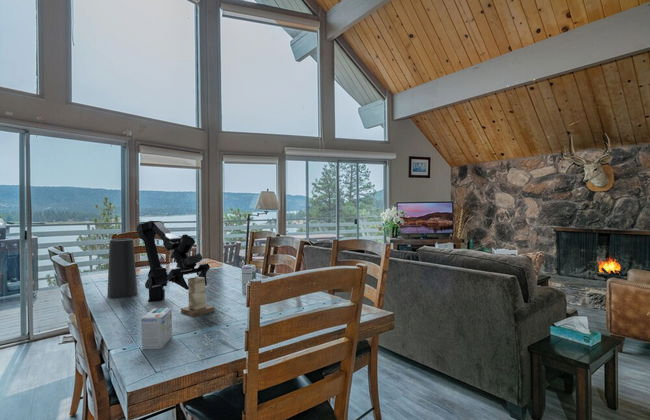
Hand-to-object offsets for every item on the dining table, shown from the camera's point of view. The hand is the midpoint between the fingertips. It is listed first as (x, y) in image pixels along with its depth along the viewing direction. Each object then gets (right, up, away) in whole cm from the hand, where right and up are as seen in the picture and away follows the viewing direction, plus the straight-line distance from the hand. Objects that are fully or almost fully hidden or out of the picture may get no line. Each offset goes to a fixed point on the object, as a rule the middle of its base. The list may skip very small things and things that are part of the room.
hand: (197, 287), depth 159 cm
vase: (-49, -10, +29) cm, 58 cm away
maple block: (0, -9, 0) cm, 9 cm away
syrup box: (+16, -10, +33) cm, 38 cm away
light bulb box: (-2, -12, -34) cm, 36 cm away
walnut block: (0, -11, 0) cm, 11 cm away
